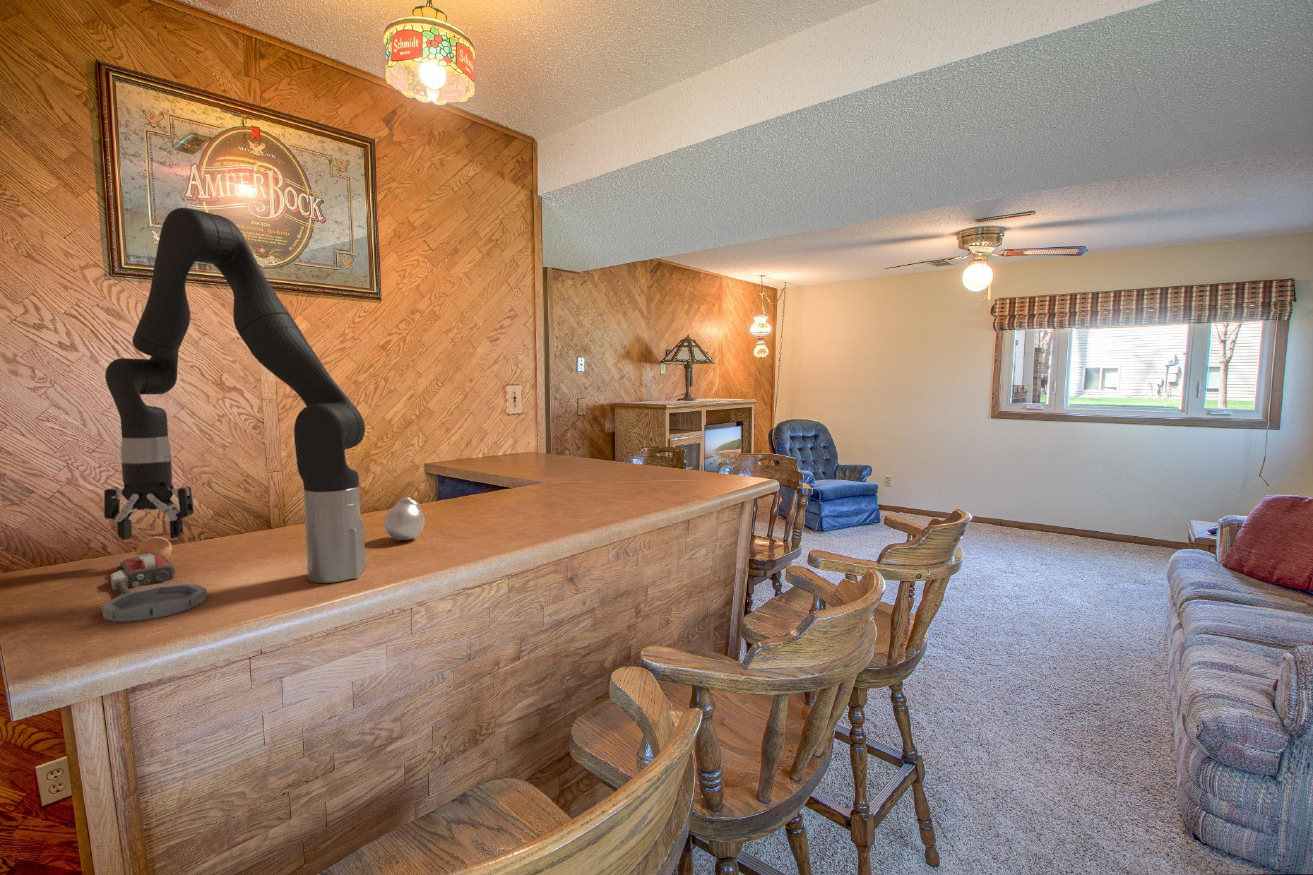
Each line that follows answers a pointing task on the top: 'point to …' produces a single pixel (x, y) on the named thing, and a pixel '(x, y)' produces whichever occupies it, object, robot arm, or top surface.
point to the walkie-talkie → (142, 572)
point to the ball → (155, 547)
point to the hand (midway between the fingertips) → (151, 538)
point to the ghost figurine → (404, 520)
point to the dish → (154, 602)
